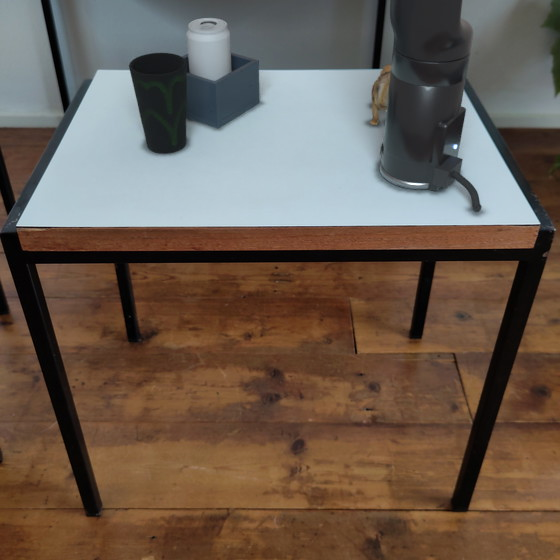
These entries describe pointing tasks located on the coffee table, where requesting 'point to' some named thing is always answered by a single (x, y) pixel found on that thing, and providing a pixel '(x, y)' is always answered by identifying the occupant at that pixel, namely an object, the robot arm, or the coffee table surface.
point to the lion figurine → (380, 93)
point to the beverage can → (209, 48)
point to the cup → (161, 99)
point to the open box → (223, 93)
